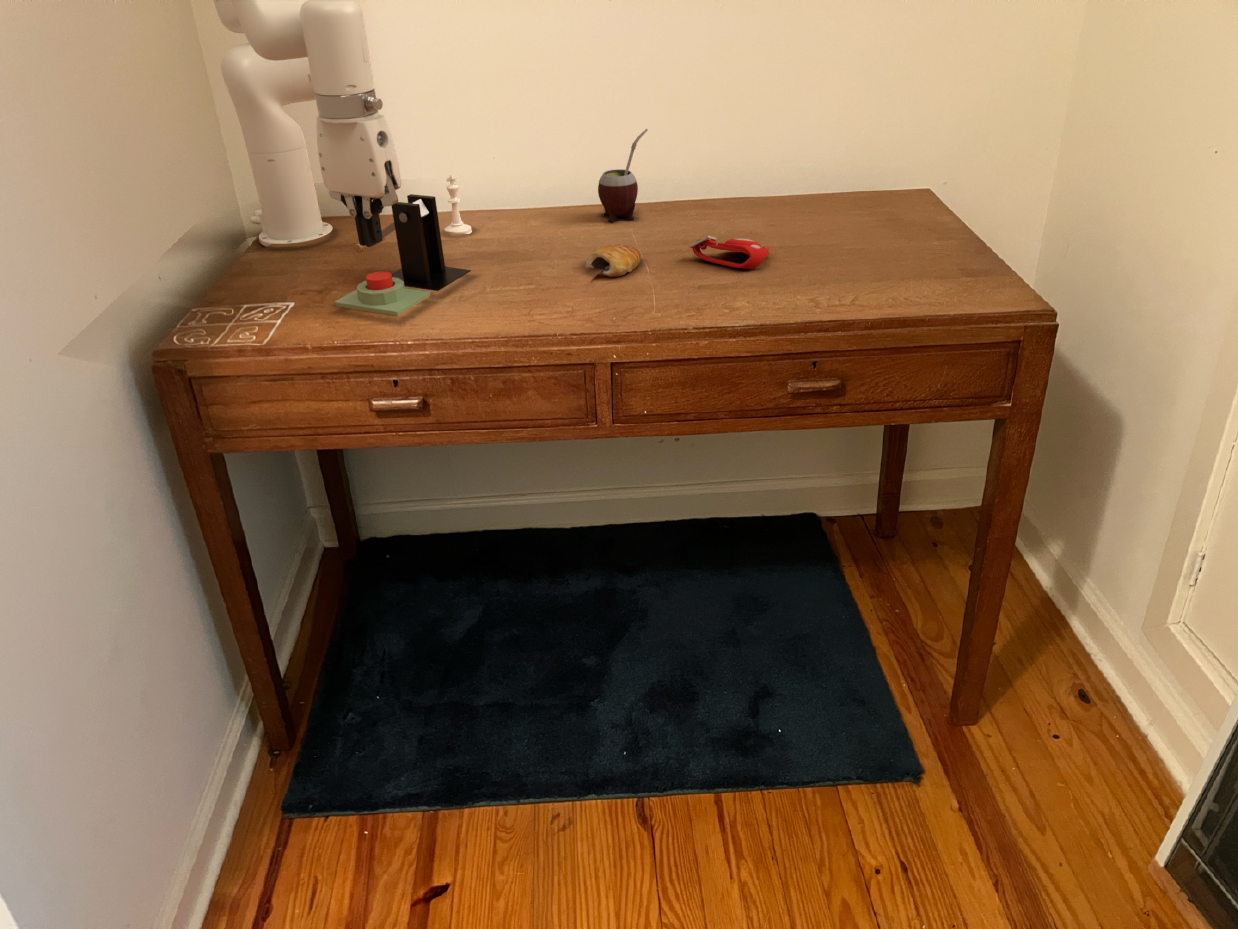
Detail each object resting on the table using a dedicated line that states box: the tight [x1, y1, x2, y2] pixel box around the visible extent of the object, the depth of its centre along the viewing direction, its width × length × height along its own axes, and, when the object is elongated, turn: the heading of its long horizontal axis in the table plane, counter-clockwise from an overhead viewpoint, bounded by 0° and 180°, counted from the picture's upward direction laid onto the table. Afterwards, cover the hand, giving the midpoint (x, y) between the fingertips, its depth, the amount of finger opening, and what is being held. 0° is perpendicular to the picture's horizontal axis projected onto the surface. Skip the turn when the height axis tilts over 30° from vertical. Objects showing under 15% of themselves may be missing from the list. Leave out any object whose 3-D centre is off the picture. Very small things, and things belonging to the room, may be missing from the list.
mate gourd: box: [597, 128, 649, 224], centre depth 162 cm, size 8×8×15 cm
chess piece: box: [443, 174, 473, 235], centre depth 159 cm, size 5×5×10 cm
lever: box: [353, 199, 429, 254], centre depth 138 cm, size 13×6×2 cm, turn 65°
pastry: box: [584, 244, 641, 278], centre depth 142 cm, size 9×7×4 cm
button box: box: [333, 277, 431, 317], centre depth 132 cm, size 11×8×4 cm
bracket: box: [390, 193, 472, 292], centre depth 137 cm, size 11×9×13 cm
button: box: [365, 271, 393, 290], centre depth 130 cm, size 4×4×2 cm
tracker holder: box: [688, 235, 770, 270], centre depth 143 cm, size 12×4×10 cm
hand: (371, 242), depth 128 cm, fingers closed
